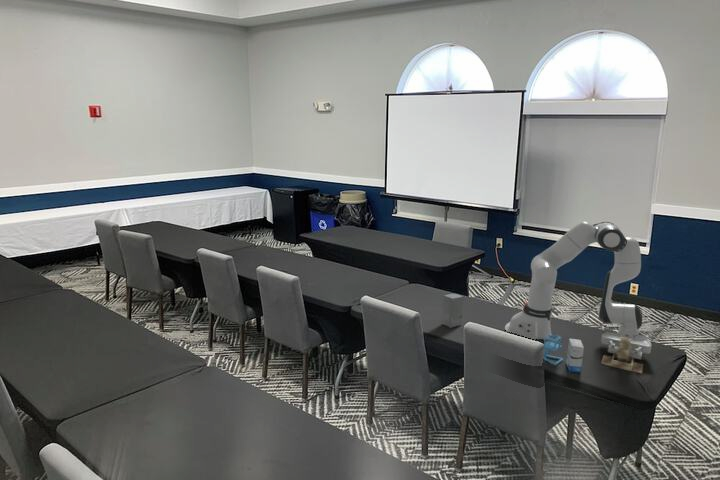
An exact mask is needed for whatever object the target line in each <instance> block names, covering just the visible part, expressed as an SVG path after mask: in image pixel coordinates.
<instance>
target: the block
mask: <svg viewBox="0 0 720 480" xmlns="http://www.w3.org/2000/svg"><path fill="white" fill-rule="evenodd" d="M630 345H631V338H626V337H622V336H621V340H620V346H619V353H618V359H616V361H621V362H625V363H629V362H628V358H629V351H630Z"/></svg>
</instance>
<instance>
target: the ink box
mask: <svg viewBox="0 0 720 480" xmlns="http://www.w3.org/2000/svg"><path fill="white" fill-rule="evenodd" d="M584 350H585V347H584V344H583V342H582V340H581V339H575V338H569V339H568V346H567V353H566V360H565V364H566V366H567V369H568V371H569V372H572V373H573V372H574V373H582V366H583V359H584V352H585V351H584Z"/></svg>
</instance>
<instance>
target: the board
mask: <svg viewBox="0 0 720 480" xmlns="http://www.w3.org/2000/svg"><path fill="white" fill-rule="evenodd" d="M614 352H616V353H619V347H615V348H611V346H610V345H608V349H607V353H611V354H614ZM634 352H635V351H633V350H630V351H629V356H634V359H638V360H642V358H643V353H642V352H640V353H638V354H636V353H634Z"/></svg>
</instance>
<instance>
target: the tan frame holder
mask: <svg viewBox="0 0 720 480" xmlns="http://www.w3.org/2000/svg"><path fill="white" fill-rule="evenodd" d="M612 354H613V355H612V356H610V355H609V356H608V355H606V354H604V355H603V356H602V359H601V362H600V364H601V365H603V366H604V365H605V366H608V367H612V368H617V369H620V370H625V371H629V372H633V373H639V374H641V375H642V374H643V369H644V363H639V362H635V358H634V356H629V358H628V363H625V362H621V361H617V359H618V353H616V352H614V353H612Z"/></svg>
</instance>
